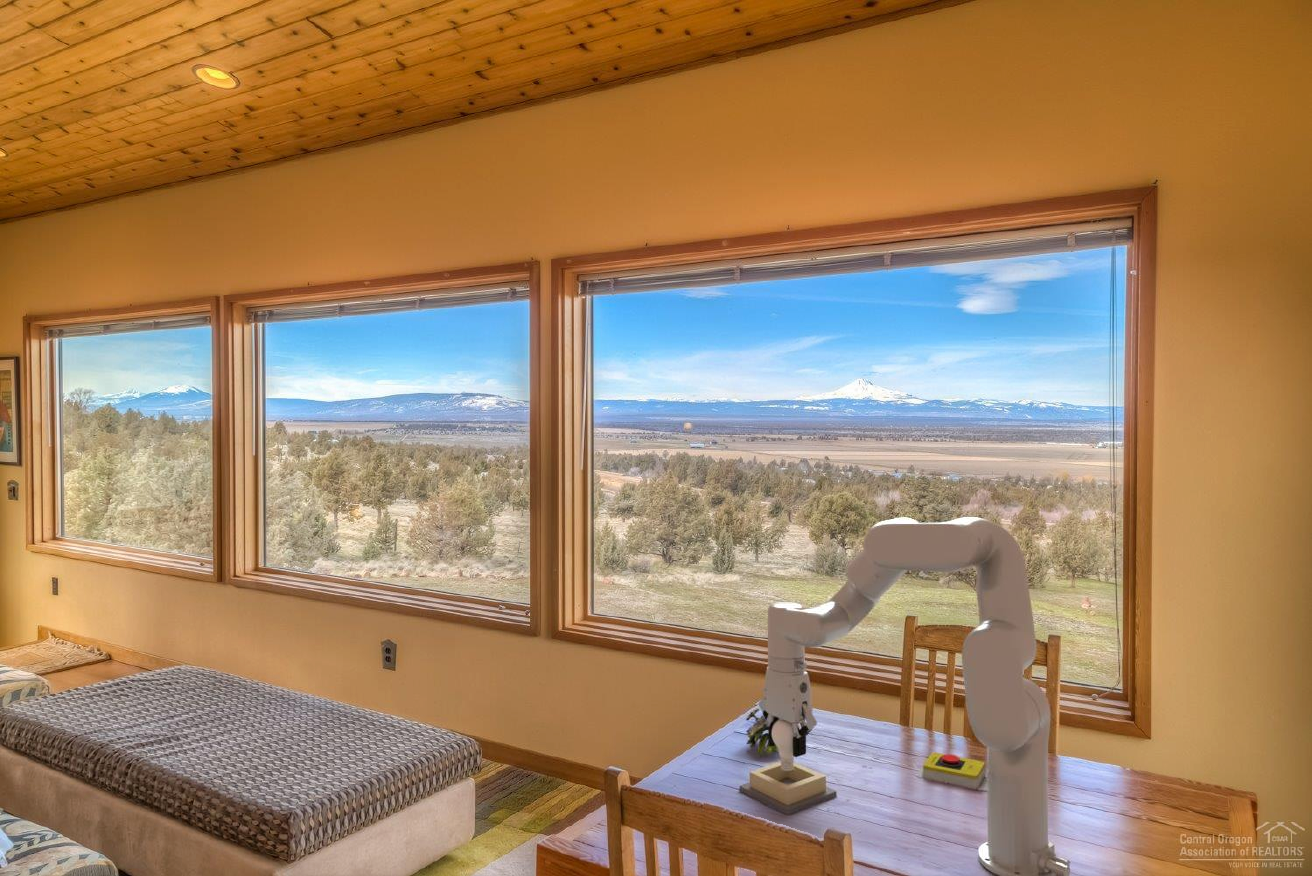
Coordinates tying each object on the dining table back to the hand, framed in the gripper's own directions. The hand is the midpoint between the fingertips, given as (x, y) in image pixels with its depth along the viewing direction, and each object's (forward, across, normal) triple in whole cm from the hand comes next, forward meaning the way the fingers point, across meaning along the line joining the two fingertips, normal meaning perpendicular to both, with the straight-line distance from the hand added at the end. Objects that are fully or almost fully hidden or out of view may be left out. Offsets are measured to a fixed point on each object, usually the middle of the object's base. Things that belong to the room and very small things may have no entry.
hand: (787, 749), depth 170 cm
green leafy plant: (+9, +20, -14) cm, 26 cm away
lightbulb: (+5, 0, 0) cm, 5 cm away
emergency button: (+10, -16, -35) cm, 40 cm away
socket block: (+9, 0, 0) cm, 9 cm away
